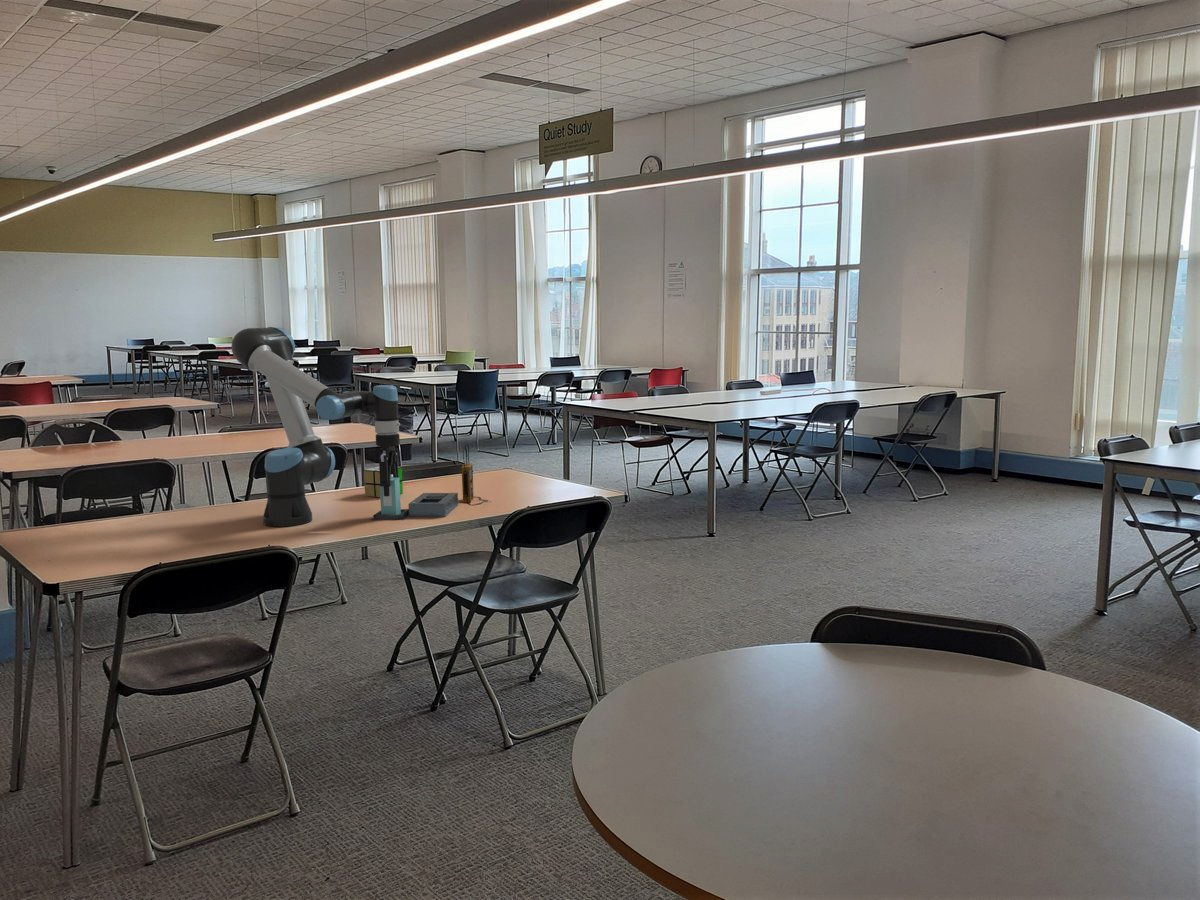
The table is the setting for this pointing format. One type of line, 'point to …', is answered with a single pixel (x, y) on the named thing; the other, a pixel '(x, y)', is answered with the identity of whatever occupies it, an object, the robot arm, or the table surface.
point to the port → (433, 505)
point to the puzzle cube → (376, 482)
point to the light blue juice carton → (395, 498)
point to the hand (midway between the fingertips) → (390, 503)
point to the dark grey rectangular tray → (392, 515)
